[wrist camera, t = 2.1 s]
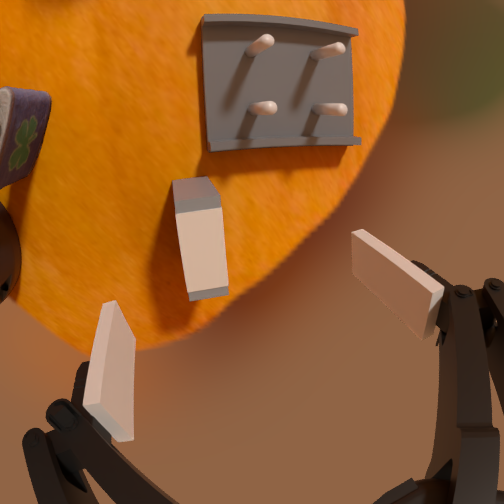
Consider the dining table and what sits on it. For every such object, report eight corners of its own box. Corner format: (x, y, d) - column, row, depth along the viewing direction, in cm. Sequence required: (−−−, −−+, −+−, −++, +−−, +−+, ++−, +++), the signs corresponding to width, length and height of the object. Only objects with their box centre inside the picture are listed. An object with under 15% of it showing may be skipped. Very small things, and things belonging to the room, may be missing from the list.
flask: (37, 89, 21) (-17, 82, 11) (59, 95, 22) (11, 89, 13) (11, 174, 23) (-44, 204, 14) (32, 181, 24) (-19, 214, 15)
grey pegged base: (207, 151, 29) (217, 159, 23) (200, 19, 22) (209, -2, 17) (348, 144, 32) (380, 152, 27) (345, 30, 26) (376, 20, 21)
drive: (182, 260, 33) (189, 302, 26) (171, 180, 29) (173, 201, 22) (214, 255, 34) (229, 295, 27) (207, 175, 30) (220, 195, 23)
